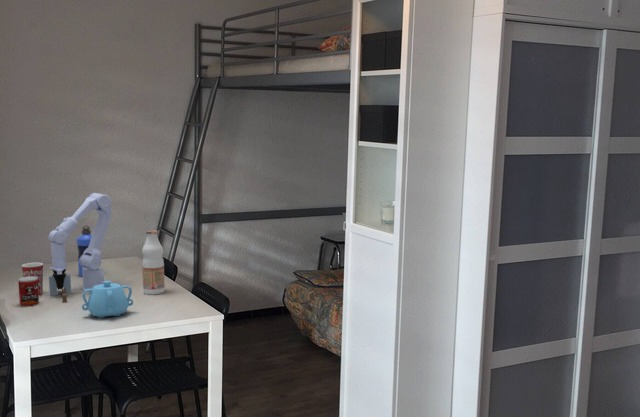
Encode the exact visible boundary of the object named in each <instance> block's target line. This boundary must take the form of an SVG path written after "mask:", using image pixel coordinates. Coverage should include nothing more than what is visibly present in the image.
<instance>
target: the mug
mask: <svg viewBox="0 0 640 417" xmlns="http://www.w3.org/2000/svg"><path fill="white" fill-rule="evenodd" d="M21 270H22V277H29V276H34V277H37V278H38V291H39V296H41V295H42V294H43V292H44V289H43V286H44V285H43V284H44V263H43V262H28V263H23V264H22V265H21Z"/></svg>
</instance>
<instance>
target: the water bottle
mask: <svg viewBox="0 0 640 417" xmlns="http://www.w3.org/2000/svg"><path fill="white" fill-rule="evenodd" d="M81 229H82V230H81V234H82V235H80V236H78V237H76V245H77V251H78V254H77V255H78V256H77V262H78V263H77V266H78V267H77V268H78V277H79V278H83V273H82V266H81V265H80V262H79V260H80V257H81V256H82V255H83V253H84V251H85V250H86V249H87V248H88V247H89V244H90V241H91V238H92V230H91V227H90V226H89V225H84V226H82V227H81Z"/></svg>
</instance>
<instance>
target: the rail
mask: <svg viewBox="0 0 640 417" xmlns="http://www.w3.org/2000/svg"><path fill="white" fill-rule="evenodd" d="M61 292H62V293H61V297H62V303H68V301H67V298H68V297H67V294H66V289H64V288H63V289H61Z"/></svg>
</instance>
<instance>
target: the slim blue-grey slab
mask: <svg viewBox="0 0 640 417" xmlns="http://www.w3.org/2000/svg"><path fill="white" fill-rule="evenodd" d="M48 284H49V287H48V288H49V290H48V291H49V296H50V297H52V296H58V288H57V285H56V281H55V278H54V277H53V274H52V275H48ZM71 284H72V283H71V274H70V273H66V276H65V279H64V285H63V289H66V295H72V285H71Z"/></svg>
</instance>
